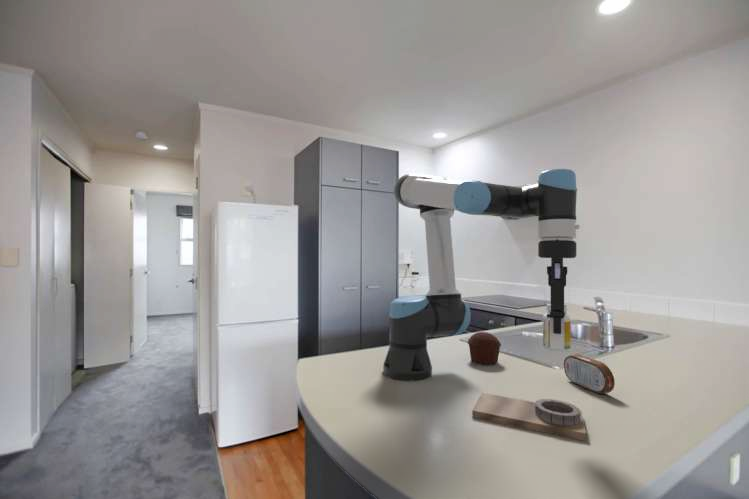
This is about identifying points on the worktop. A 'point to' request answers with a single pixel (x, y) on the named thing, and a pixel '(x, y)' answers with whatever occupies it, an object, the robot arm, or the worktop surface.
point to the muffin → (484, 348)
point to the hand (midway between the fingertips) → (556, 345)
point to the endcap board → (532, 415)
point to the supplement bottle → (547, 331)
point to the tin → (589, 373)
